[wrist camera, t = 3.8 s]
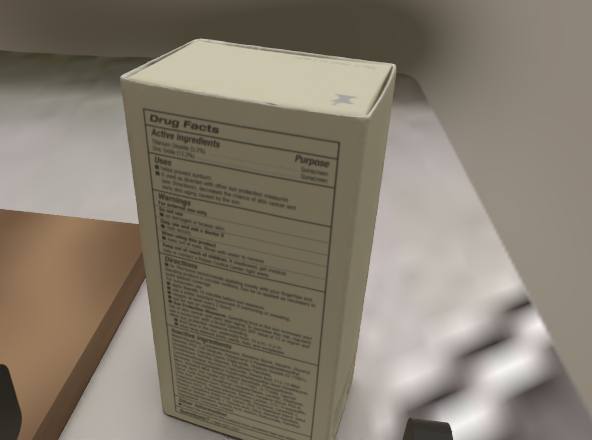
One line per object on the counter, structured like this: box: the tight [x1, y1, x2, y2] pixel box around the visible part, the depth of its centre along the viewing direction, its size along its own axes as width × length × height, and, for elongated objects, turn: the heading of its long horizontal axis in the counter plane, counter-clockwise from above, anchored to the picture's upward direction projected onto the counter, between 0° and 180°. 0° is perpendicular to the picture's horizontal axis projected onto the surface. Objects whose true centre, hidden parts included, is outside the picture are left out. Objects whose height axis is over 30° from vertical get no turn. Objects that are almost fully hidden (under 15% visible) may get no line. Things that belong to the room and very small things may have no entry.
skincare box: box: [120, 39, 396, 440], centre depth 17 cm, size 6×4×12 cm
